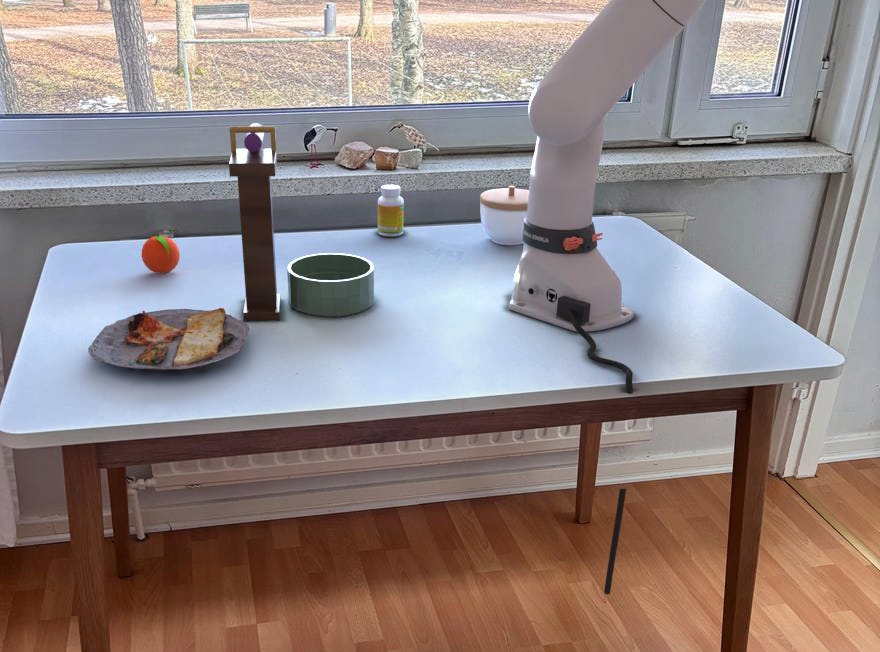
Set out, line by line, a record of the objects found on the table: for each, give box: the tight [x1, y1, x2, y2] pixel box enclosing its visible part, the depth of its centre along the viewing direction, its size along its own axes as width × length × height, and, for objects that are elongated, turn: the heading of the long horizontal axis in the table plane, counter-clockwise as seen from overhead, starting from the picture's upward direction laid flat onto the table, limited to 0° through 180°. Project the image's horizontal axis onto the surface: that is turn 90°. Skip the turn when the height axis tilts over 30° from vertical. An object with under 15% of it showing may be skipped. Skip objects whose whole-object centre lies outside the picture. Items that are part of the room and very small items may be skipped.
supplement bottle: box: [377, 184, 405, 238], centre depth 208 cm, size 5×5×10 cm
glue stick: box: [243, 122, 265, 152], centre depth 164 cm, size 12×3×3 cm, turn 5°
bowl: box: [286, 252, 375, 318], centre depth 173 cm, size 15×15×6 cm
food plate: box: [87, 307, 251, 371], centre depth 156 cm, size 25×23×4 cm
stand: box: [228, 125, 282, 322], centre depth 163 cm, size 10×7×30 cm
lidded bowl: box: [479, 185, 529, 246], centre depth 204 cm, size 13×13×11 cm
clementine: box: [141, 234, 180, 275], centre depth 185 cm, size 8×7×7 cm
